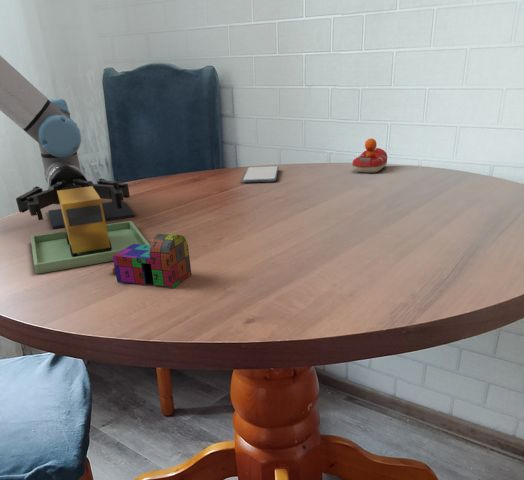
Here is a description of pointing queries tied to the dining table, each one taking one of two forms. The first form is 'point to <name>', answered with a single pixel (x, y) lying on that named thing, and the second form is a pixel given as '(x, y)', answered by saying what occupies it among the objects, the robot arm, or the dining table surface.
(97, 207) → the toy van
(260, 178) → the smartphone
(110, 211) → the mat
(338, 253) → the dining table surface
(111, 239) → the box
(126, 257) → the block
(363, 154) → the toy boat
